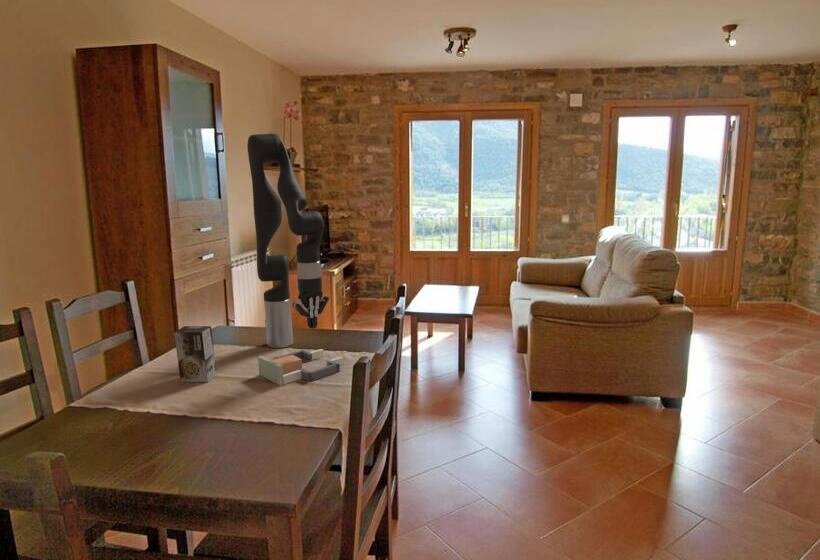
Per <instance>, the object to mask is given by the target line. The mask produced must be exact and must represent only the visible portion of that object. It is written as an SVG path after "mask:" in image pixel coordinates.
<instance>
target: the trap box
mask: <svg viewBox="0 0 820 560" xmlns="http://www.w3.org/2000/svg"><path fill="white" fill-rule="evenodd" d="M324 351H325V350H324V349H323V348H320V349H316V350H312V351H310V352H309V351H307V350H305V349H301V350H297V351H294V352H291V353H287V354H284V355H280V356H278V357H274V358H273V359H269V358H267V357H265V356H263V355H260V356H257V364H258V374H259V376H260V377H262V378H264V379H267V380H268V381H270V382H272V383H275V384H277V385H278V386H281V387H282V386H284V385H286V384H289V383H292V382H295V381H299V380H304V381H306V382H308V381H309V382H308V383H310V381H311V382H313V381H317V380H319V379H322V378H324V377H328V376H330V375H334V374H337V373H340V369H341V368H340V367H341V366H343V365H344V364H345V360H344V356H342V355H341V356H337V357H335V358H332V359H329V360H327V361H326V366H324V367H321V368H318V369H314V370H312V371H308V370H306V369H304V368H302V369H300V370H297V371H294V372H291V373H288V374H285V375H283V365H280V364H278V363H276V362H274V361H271V360H274V359H278V358H282V357H286V356H290V355H294V356H296V357H298V358H300V359H302V364H305V363H308V362H311V361H314V359H315V360H317V359H320V358H324V357H325V353H324Z"/></svg>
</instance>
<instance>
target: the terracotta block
mask: <svg viewBox="0 0 820 560" xmlns="http://www.w3.org/2000/svg"><path fill="white" fill-rule="evenodd" d="M270 360H271V361H274V362H276V363H278V364H280V365H283V375H285V374H288V373H291V372H294V371H297V370H300V369H303V363H302V359H300V358H298V357H296V356H294V355H290V356H286V357H282V358H278V359H270Z"/></svg>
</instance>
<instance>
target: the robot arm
mask: <svg viewBox="0 0 820 560" xmlns="http://www.w3.org/2000/svg"><path fill="white" fill-rule="evenodd" d="M246 148H247V155H248V163H249V168H250V177H251V184H252V185H251V186H252V199H253V200H252V201H253V206H252V207H253V217H254V227H255V236H256V269H257V271H256V272H257V277H258V279H259V281H260V282H264V283H266V282H277V281H279V282H278V283H277V284H276V285H275V286H273V287H271V288H270V289H267V290H266V291H264V292H263V303H264V304H263V305H264V316H265V319H264V324H265V327H264V328H265V337H266V344H267V347H269V348H272V349H282V348H287V347H290V346H292V345H293V344H294V337H293V322H292V321H293V320H292V307H293V308H294V309H295V310H296V311H297V312H298V314H299V315H300V316H302V317H305V318H306V322H307V327H308V328H309V329H312V330H313V329H316V328H317V326H318V315H319V314H320V315H321V314H322V313H323V312H324V309H325V308H326V306H327V304H328V301H329V299H330V297H329V296H326V295H324V293H323V291H322V289H323V279H322V278H323V276H322V265H321V257H320V255H321V254H320V248H321V247H320V246H321V241H322V236H323V233H324V228H325V227H324V225H325V222H324V218H323V216H322V214H321V213H320V212H318V211H316V210H315V211H314V210H312V211H311V210H310V211H304V210H305V209H306V207H307V206H308V200H307V198H306V196H305V195H306V194H304V192H303V189H302V188H301V186H300V185H299V182H298V180H297V178H296V175H295V173H294V169H293V165H292V162H291V159H290V157H289V153H288V151H287V147H286V145H285V142H284V141H283V139H282V137H281V136H280V134H277V133H262V134H261V133H260V134H259V133H257V134H256V133H255V134H251V135H249V137H248V139H247V147H246ZM269 163H270V164H271V163H277V165H278V167H279V175H278V179H277V186H276V187H277V188H276V189H277V192H278V194H277V192H276V191H275V190H274V188H273V186H271V184H270V182H269V181H268V179H267V177H266V174H265V171H264V164H269ZM282 203H283V206H284V207H285V212H286V217H287V222H288V228H289V230H290V232H291V233H292V234H294V235H295V236H297V237H298V236H306V235H307V237H306V239H305V240H303V241H301V242H300V243H298V244H297V245H296V262H297V264H296V265H297V266H296V273H297V274H296V275H297V278H296V279H297V289H298V295H297V296H298V297H297V300H296V302H293V303H292V305H291V295H290V293H291V292H290V284H289V283H290V272H289V271H290V270H289V269H290V268H289V259H288V256H286V255H285V254H273V255H272V254H271V255H267V252H268V247H269V246H270V243H271V241H272V239H273V237H274V236H275V234H276V232H277V231H278V229H279V228H280V226H281V223H282V221H283V220H282V219H283V213H282V211H283V210H282V209H283V208H282ZM291 306H292V307H291Z"/></svg>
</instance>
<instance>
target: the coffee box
mask: <svg viewBox="0 0 820 560" xmlns="http://www.w3.org/2000/svg"><path fill="white" fill-rule="evenodd" d="M212 332H213V331H212V326H210V325H193V326H189V325H187V326H182V327H181V328H179V329H178V330H176V331H174V332H173V335H174V341H175V342H174V344H175V349H176V356H177V364H178V372H179V378H180V379H179V380H180V382H181V383H209V382H210V381H211V380H212V379H214V378H215V377H216V376H217V367H216V360H215V359H216V358H215V349H214V342H213V341H214V340H213V333H212Z"/></svg>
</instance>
